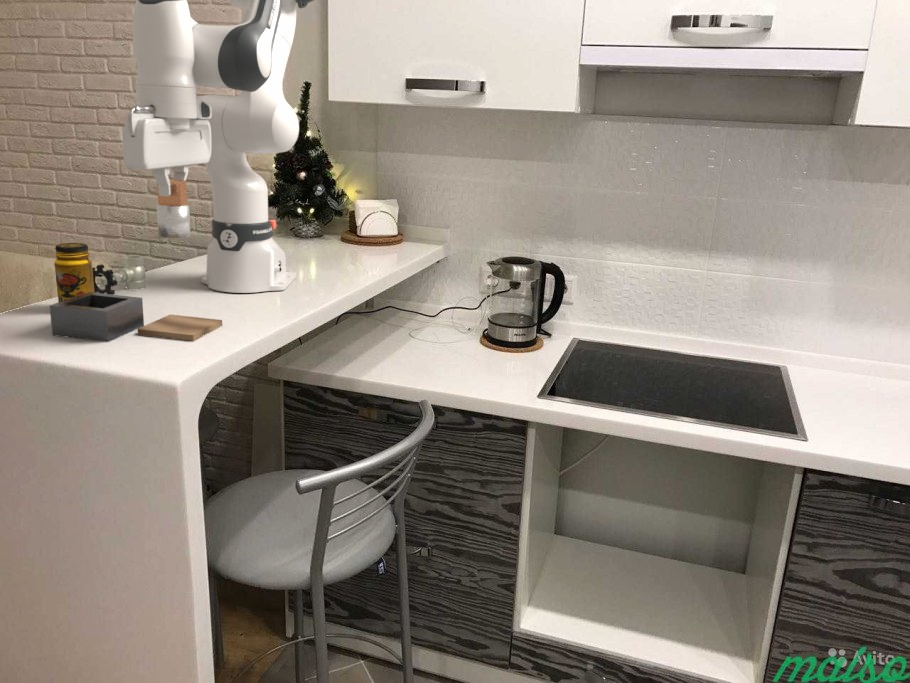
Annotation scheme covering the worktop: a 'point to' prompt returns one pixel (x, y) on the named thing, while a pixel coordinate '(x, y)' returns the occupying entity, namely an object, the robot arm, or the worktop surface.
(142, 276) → the valve
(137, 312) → the housing
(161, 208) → the plug
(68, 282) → the condiment
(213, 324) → the board
